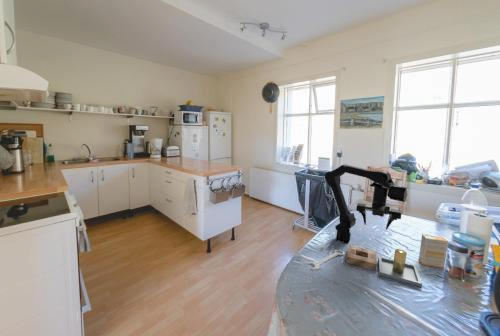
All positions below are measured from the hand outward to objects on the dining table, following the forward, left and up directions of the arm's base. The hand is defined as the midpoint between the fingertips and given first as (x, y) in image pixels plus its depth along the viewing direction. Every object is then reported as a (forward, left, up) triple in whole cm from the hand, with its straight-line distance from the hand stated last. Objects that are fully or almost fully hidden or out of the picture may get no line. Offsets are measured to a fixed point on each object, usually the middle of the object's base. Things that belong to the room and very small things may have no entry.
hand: (375, 227), depth 109 cm
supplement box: (+23, +1, -13) cm, 27 cm away
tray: (+9, -15, -13) cm, 22 cm away
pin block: (-5, -12, -13) cm, 18 cm away
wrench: (-19, -20, -13) cm, 31 cm away
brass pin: (+9, -15, -12) cm, 21 cm away
